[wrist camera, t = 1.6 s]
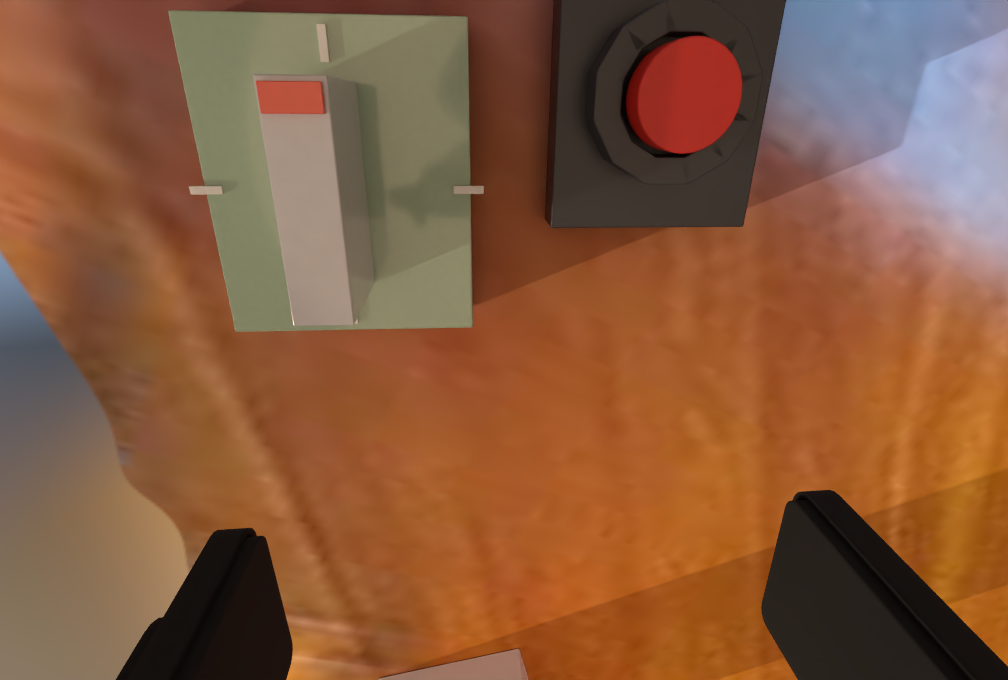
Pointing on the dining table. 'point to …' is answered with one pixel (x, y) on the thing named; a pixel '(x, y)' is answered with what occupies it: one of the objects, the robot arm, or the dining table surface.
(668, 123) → the tap button
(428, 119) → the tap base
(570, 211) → the button block
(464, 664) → the milk
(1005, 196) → the dining table surface
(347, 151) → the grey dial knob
